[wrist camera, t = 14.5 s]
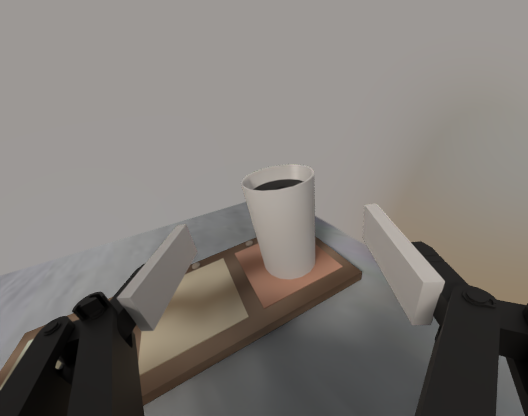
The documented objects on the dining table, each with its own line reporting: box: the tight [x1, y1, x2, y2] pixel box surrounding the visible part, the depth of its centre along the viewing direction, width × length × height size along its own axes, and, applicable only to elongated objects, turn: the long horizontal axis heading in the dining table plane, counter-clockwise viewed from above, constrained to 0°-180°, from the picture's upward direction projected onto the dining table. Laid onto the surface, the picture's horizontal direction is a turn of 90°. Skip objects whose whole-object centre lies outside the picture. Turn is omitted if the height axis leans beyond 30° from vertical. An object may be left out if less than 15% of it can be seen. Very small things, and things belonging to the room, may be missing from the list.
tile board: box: [0, 237, 362, 405], centre depth 20 cm, size 12×32×1 cm, turn 115°
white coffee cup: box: [241, 164, 315, 279], centre depth 21 cm, size 7×7×10 cm
